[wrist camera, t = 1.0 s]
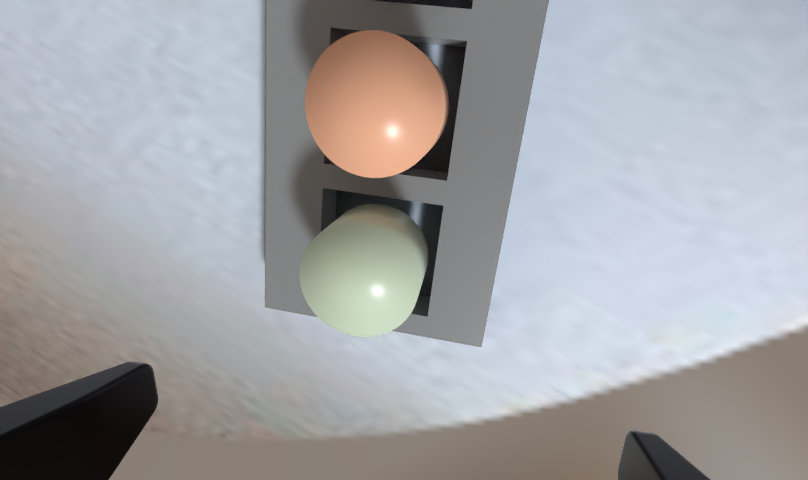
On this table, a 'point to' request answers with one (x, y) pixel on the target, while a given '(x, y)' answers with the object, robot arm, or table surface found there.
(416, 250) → the sage button
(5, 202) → the table surface
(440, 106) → the terracotta button
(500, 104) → the button panel
